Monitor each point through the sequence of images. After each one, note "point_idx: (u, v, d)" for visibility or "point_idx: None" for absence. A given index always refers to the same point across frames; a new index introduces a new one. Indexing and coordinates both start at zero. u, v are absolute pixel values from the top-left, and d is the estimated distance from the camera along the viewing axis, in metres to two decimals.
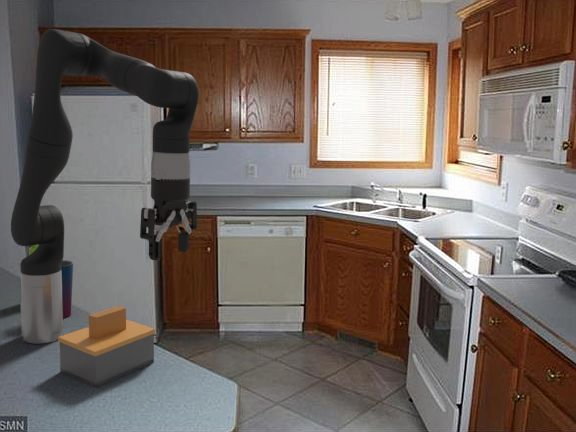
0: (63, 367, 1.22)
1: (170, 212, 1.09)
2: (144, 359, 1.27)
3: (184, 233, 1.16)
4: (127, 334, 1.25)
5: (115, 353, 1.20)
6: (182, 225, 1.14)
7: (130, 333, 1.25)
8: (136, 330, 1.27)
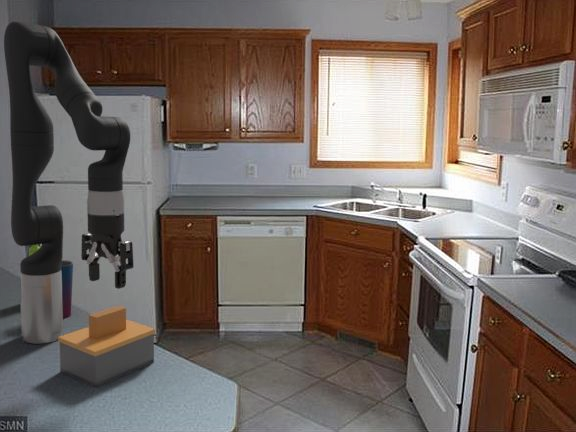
0: (63, 367, 1.22)
1: None
2: (144, 359, 1.27)
3: (96, 263, 1.25)
4: (127, 334, 1.25)
5: (115, 353, 1.20)
6: None
7: (130, 333, 1.25)
8: (136, 330, 1.27)
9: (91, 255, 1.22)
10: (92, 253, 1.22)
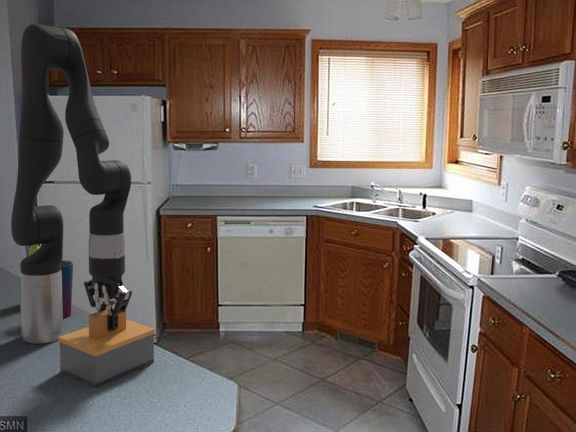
0: (63, 367, 1.22)
1: None
2: (144, 359, 1.27)
3: (104, 309, 1.25)
4: (127, 334, 1.25)
5: (115, 353, 1.20)
6: None
7: (129, 333, 1.25)
8: (136, 330, 1.27)
9: (97, 299, 1.23)
10: (97, 296, 1.23)
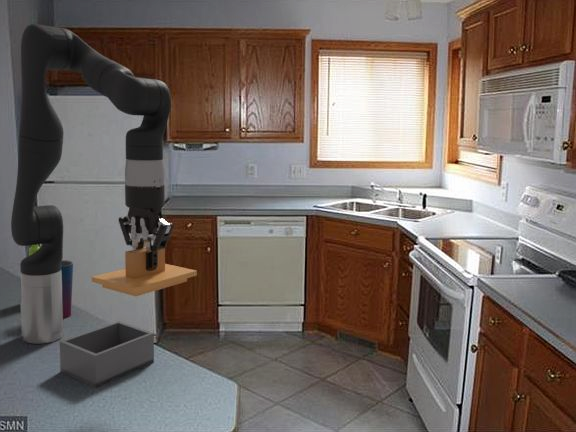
0: (63, 367, 1.22)
1: None
2: (144, 359, 1.27)
3: None
4: (167, 274, 1.12)
5: (115, 353, 1.20)
6: None
7: (170, 274, 1.13)
8: (176, 271, 1.15)
9: (134, 235, 1.11)
10: (134, 232, 1.11)
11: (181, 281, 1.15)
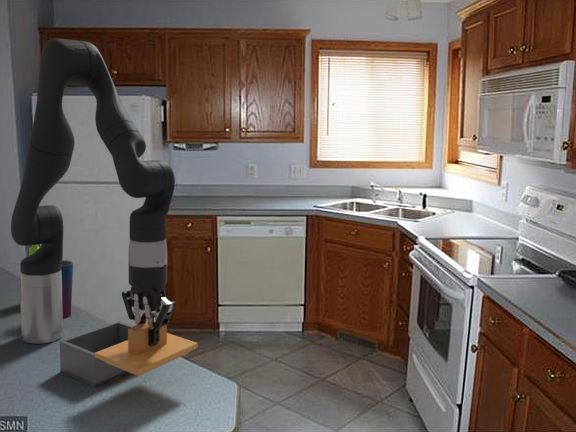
0: (63, 367, 1.22)
1: None
2: None
3: (144, 322, 1.15)
4: (169, 349, 1.15)
5: None
6: None
7: (171, 348, 1.15)
8: (177, 344, 1.17)
9: (136, 311, 1.13)
10: (136, 308, 1.13)
11: (182, 354, 1.17)
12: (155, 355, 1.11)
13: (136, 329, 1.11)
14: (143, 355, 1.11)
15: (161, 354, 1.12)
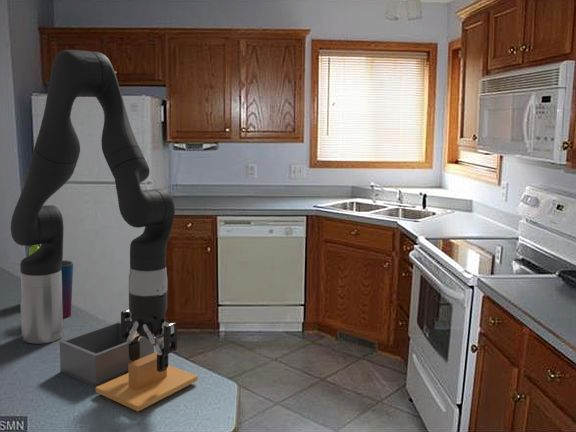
0: (63, 367, 1.22)
1: None
2: None
3: (136, 341, 1.17)
4: (169, 383, 1.16)
5: (115, 353, 1.20)
6: None
7: (171, 382, 1.16)
8: (177, 377, 1.18)
9: (132, 335, 1.15)
10: (133, 333, 1.14)
11: None
12: (155, 390, 1.13)
13: (136, 364, 1.12)
14: (143, 390, 1.12)
15: (161, 389, 1.13)
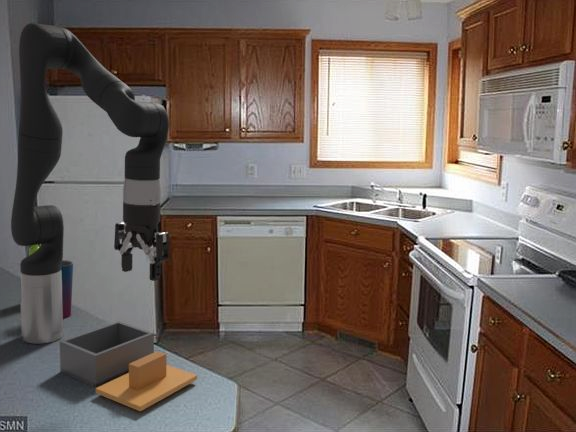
0: (63, 367, 1.22)
1: None
2: None
3: (129, 253, 1.21)
4: (169, 382, 1.16)
5: (115, 353, 1.20)
6: None
7: (171, 382, 1.16)
8: (177, 377, 1.19)
9: (125, 245, 1.18)
10: (126, 243, 1.18)
11: None
12: (156, 390, 1.13)
13: (137, 364, 1.12)
14: (144, 390, 1.12)
15: (162, 388, 1.13)
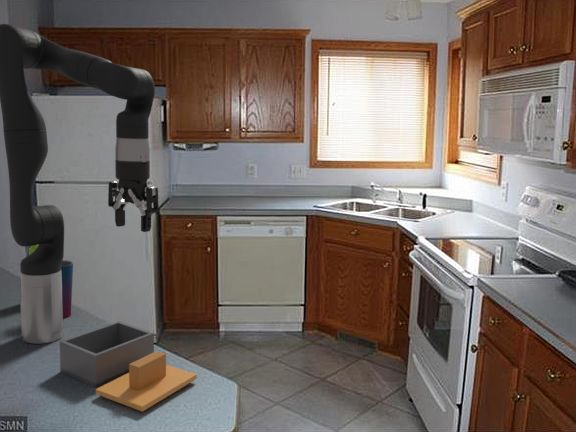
0: (63, 367, 1.22)
1: None
2: None
3: (122, 209, 1.31)
4: (169, 382, 1.16)
5: (115, 353, 1.20)
6: None
7: (172, 381, 1.17)
8: (176, 376, 1.19)
9: (118, 201, 1.29)
10: (119, 199, 1.28)
11: None
12: (157, 389, 1.13)
13: (137, 364, 1.12)
14: (145, 390, 1.12)
15: (162, 388, 1.13)
